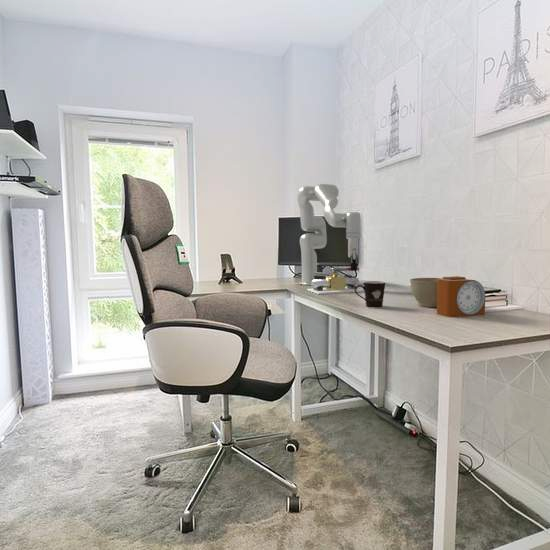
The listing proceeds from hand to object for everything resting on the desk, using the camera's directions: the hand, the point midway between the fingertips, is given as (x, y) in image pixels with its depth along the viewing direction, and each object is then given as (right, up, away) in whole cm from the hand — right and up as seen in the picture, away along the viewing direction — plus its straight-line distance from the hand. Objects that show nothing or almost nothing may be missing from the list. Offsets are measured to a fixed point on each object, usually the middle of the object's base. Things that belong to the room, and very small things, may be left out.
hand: (353, 270), depth 201 cm
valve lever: (-4, 0, +3) cm, 5 cm away
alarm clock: (+25, -17, -64) cm, 71 cm away
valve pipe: (-10, -11, +3) cm, 15 cm away
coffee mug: (-3, -15, -45) cm, 48 cm away
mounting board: (-9, -11, +2) cm, 14 cm away
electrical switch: (-14, -10, +16) cm, 24 cm away
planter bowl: (+22, -15, -46) cm, 53 cm away
